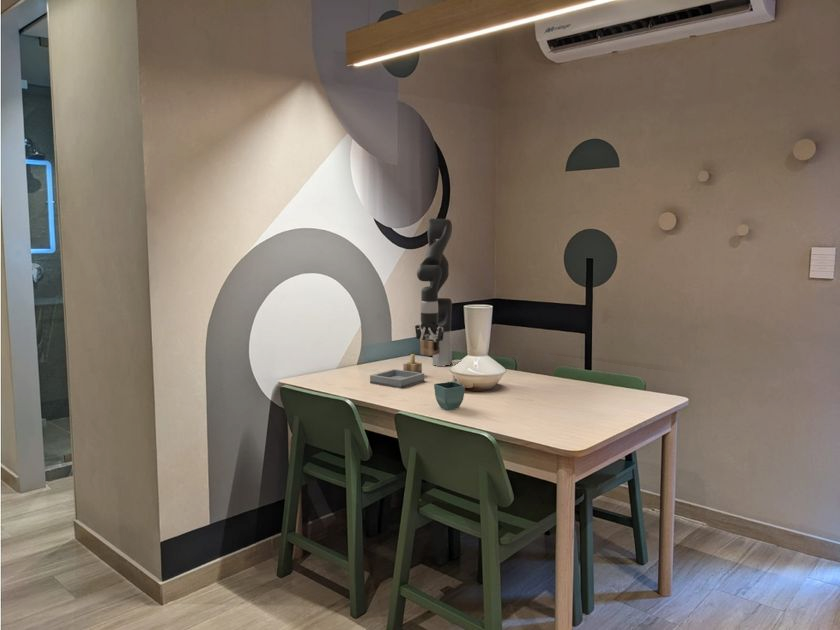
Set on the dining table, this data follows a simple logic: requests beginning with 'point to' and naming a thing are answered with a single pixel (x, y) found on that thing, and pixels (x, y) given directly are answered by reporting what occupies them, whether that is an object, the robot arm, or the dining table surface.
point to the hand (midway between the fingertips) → (429, 349)
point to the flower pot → (449, 394)
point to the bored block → (428, 347)
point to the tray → (397, 378)
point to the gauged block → (412, 365)
